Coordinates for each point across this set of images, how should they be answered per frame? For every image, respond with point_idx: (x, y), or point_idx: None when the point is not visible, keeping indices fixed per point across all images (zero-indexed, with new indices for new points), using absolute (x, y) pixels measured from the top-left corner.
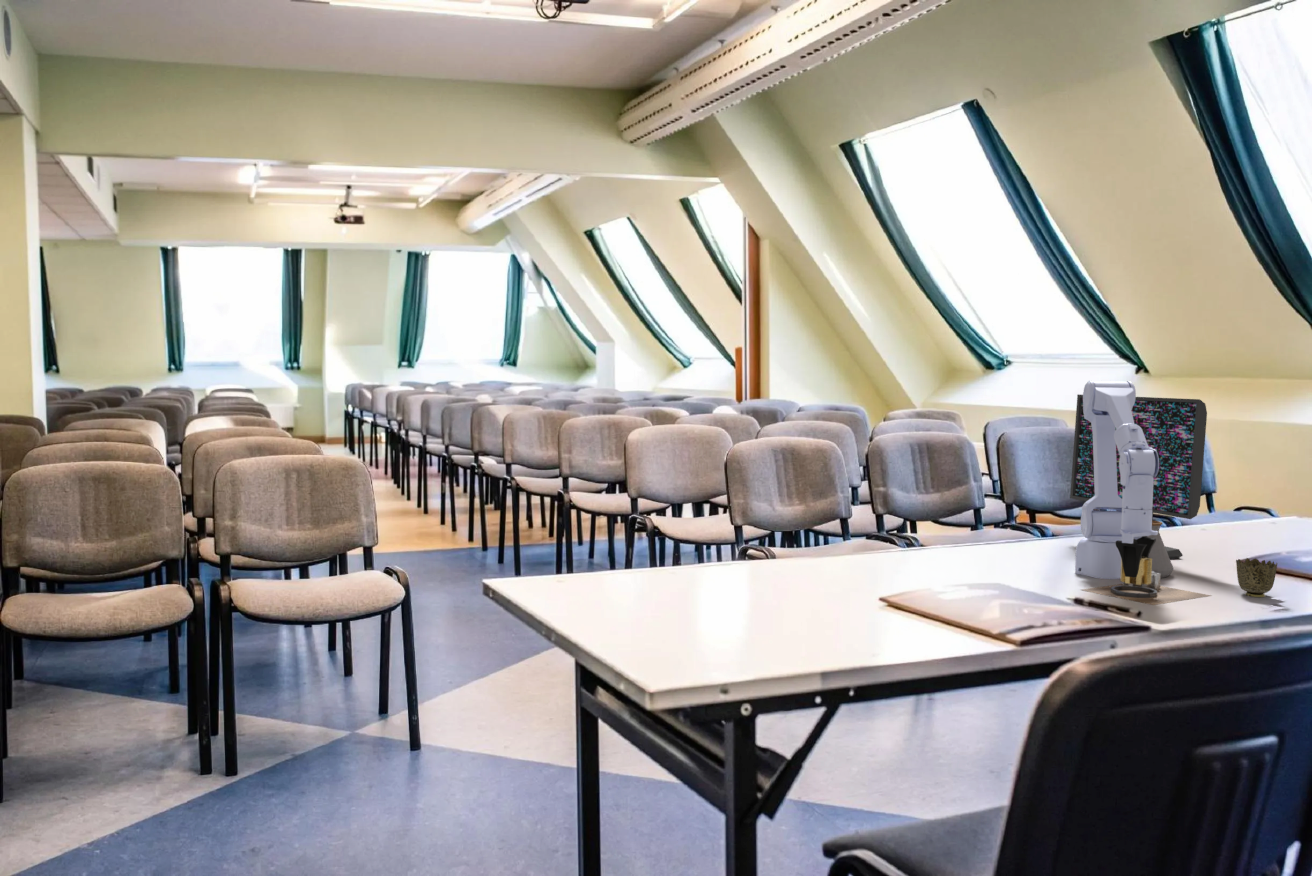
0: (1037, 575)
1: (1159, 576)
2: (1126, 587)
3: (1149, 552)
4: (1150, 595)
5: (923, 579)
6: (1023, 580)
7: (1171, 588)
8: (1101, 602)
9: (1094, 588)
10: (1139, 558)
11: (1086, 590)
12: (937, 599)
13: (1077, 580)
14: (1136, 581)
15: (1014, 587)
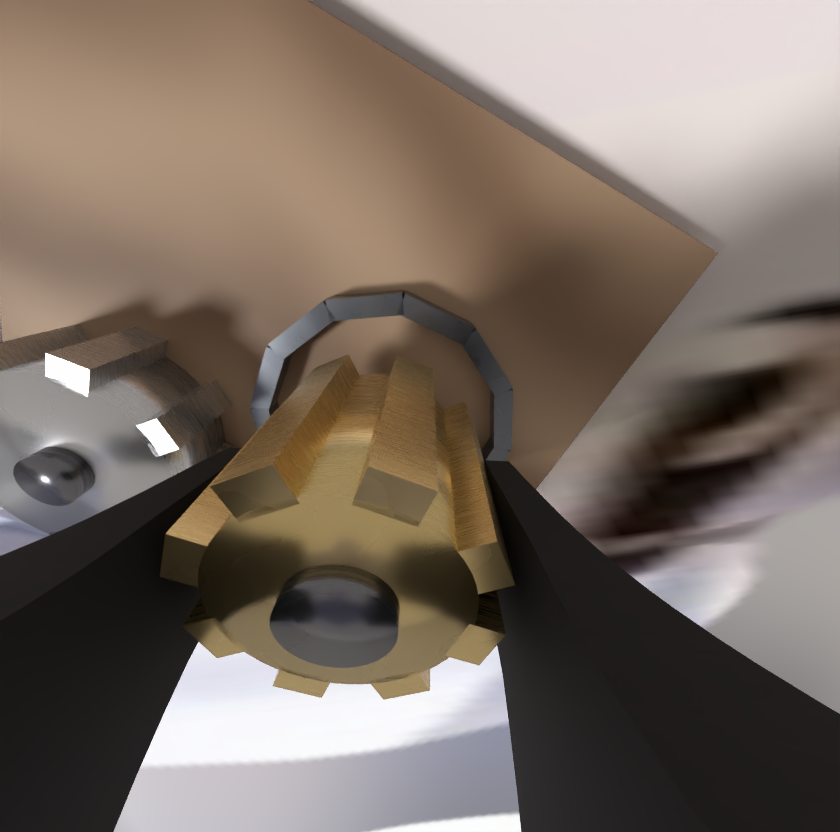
0: (186, 713)
1: (2, 349)
2: None
3: (8, 563)
4: (461, 319)
5: (469, 828)
6: (307, 722)
7: (17, 252)
8: (579, 502)
9: None
10: (639, 585)
11: None
12: None
13: None
14: (478, 440)
15: (444, 720)
